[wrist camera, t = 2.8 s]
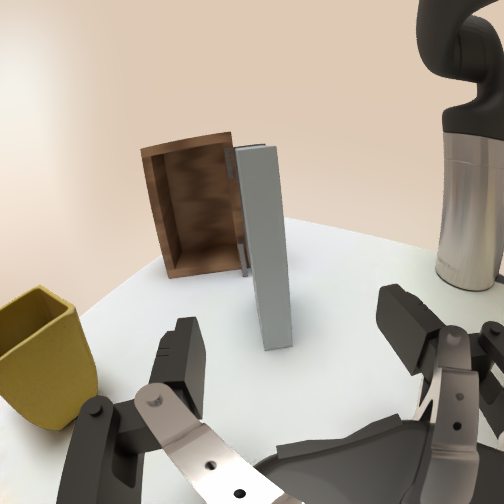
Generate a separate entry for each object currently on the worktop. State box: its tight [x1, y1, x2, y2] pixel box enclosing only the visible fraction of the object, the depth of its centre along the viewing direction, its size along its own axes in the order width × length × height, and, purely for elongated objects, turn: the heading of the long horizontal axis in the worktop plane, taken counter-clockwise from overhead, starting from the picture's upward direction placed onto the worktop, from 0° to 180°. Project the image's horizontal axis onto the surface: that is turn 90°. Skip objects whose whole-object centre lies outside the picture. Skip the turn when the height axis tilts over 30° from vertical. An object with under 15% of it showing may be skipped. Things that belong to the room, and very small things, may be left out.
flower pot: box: [0, 285, 98, 430], centre depth 15 cm, size 9×9×9 cm
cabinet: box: [141, 132, 249, 278], centre depth 38 cm, size 11×8×18 cm
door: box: [235, 145, 292, 351], centre depth 23 cm, size 2×8×16 cm, turn 4°
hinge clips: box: [224, 144, 266, 277], centre depth 34 cm, size 5×3×16 cm
